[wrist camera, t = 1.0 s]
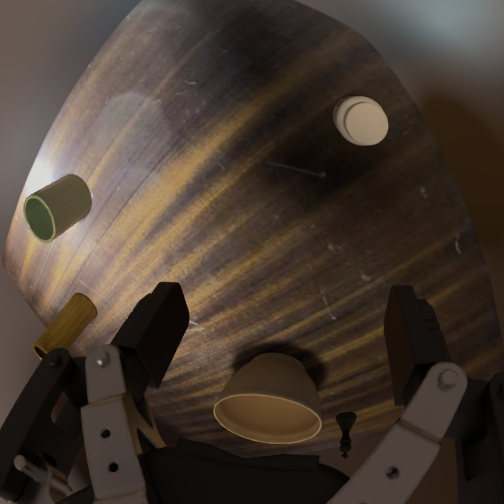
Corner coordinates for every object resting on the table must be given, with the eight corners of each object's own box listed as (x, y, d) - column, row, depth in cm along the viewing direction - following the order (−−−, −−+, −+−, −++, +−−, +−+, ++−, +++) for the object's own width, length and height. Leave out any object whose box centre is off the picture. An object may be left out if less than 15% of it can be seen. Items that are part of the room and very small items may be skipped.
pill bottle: (372, 95, 25) (392, 96, 18) (376, 137, 27) (395, 151, 20) (330, 96, 26) (336, 96, 19) (334, 137, 28) (341, 152, 21)
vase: (75, 310, 52) (36, 358, 40) (70, 288, 48) (26, 337, 36) (98, 321, 51) (60, 374, 39) (95, 300, 48) (51, 354, 36)
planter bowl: (336, 346, 42) (336, 406, 33) (311, 399, 51) (306, 448, 41) (232, 327, 44) (212, 384, 35) (228, 383, 52) (213, 431, 43)
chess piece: (348, 423, 54) (346, 462, 45) (331, 419, 54) (329, 459, 45) (360, 415, 52) (360, 456, 43) (344, 410, 51) (342, 453, 43)
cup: (54, 194, 38) (19, 216, 31) (70, 165, 35) (31, 184, 28) (79, 225, 40) (46, 251, 33) (98, 199, 37) (61, 224, 30)
